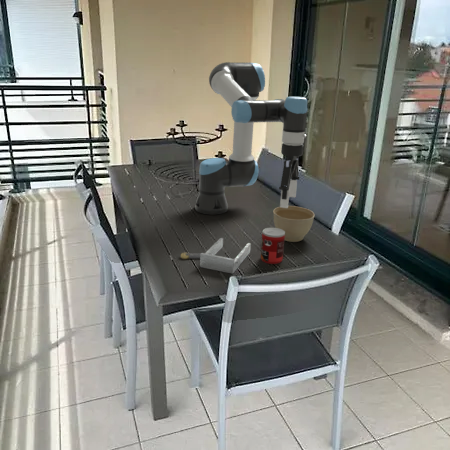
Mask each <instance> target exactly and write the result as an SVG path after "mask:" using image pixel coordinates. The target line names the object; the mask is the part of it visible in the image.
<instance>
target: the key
mask: <svg viewBox="0 0 450 450" xmlns="http://www.w3.org/2000/svg"><path fill="white" fill-rule="evenodd" d="M201 253H202V252H201ZM201 253H199V252H196V253H192V252H191V253H189V252H181V253H180V259H181V260H189V259H191V260H192V259H194V260H195V259H199V260H200V254H201Z"/></svg>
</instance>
